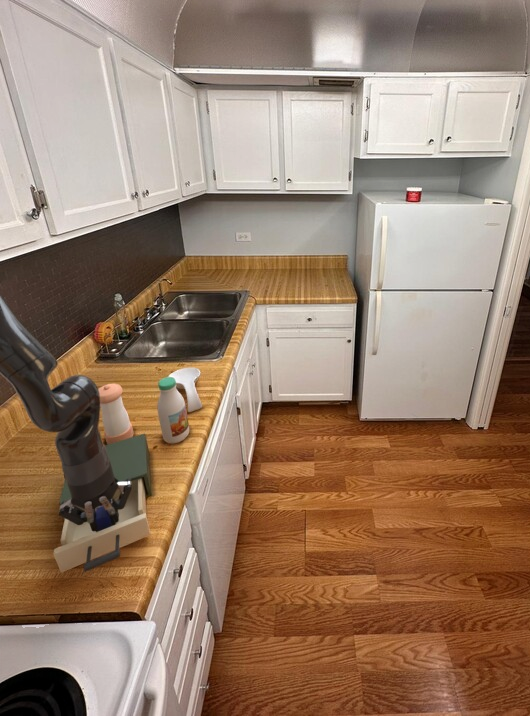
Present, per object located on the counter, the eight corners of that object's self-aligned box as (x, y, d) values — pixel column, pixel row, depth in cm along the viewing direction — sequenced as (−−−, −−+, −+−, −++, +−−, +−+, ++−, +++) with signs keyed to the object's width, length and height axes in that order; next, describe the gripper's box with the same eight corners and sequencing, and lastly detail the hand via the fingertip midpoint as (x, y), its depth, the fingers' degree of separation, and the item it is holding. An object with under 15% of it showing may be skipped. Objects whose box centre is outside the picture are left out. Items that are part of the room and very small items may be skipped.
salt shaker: (120, 426, 106) (107, 376, 99) (139, 431, 104) (127, 380, 97) (100, 443, 99) (85, 390, 92) (119, 449, 97) (105, 396, 90)
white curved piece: (166, 380, 128) (163, 364, 126) (197, 371, 134) (195, 356, 132) (178, 417, 110) (175, 399, 107) (213, 405, 116) (211, 388, 113)
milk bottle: (163, 447, 98) (151, 392, 91) (163, 429, 105) (152, 376, 97) (190, 439, 101) (181, 385, 94) (188, 422, 108) (180, 370, 100)
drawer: (151, 555, 70) (146, 537, 68) (56, 598, 63) (48, 579, 61) (148, 486, 85) (144, 469, 83) (71, 514, 78) (65, 497, 76)
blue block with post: (101, 539, 72) (95, 520, 70) (103, 512, 78) (97, 494, 75) (114, 533, 73) (108, 515, 71) (115, 508, 79) (110, 490, 76)
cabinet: (151, 495, 84) (146, 473, 81) (68, 527, 76) (59, 504, 74) (149, 453, 96) (145, 433, 93) (77, 477, 88) (69, 455, 86)
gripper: (127, 443, 73) (141, 498, 79) (49, 467, 67) (71, 524, 73) (126, 469, 67) (141, 526, 73) (41, 497, 61) (65, 558, 67)
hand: (106, 525), depth 73 cm, fingers closed on blue block with post, 2 cm apart
